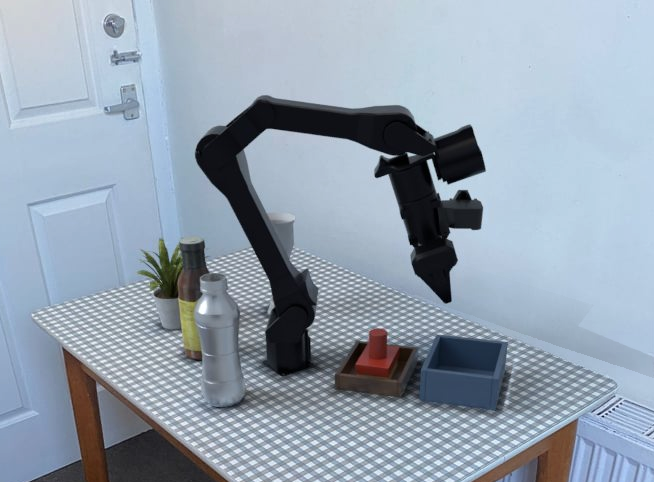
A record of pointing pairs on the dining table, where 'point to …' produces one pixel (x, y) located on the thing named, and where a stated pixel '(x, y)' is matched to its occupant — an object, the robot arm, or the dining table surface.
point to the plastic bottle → (219, 342)
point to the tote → (463, 372)
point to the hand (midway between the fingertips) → (445, 290)
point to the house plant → (166, 285)
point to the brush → (378, 357)
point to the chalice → (283, 234)
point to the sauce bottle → (191, 292)
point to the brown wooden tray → (372, 385)
